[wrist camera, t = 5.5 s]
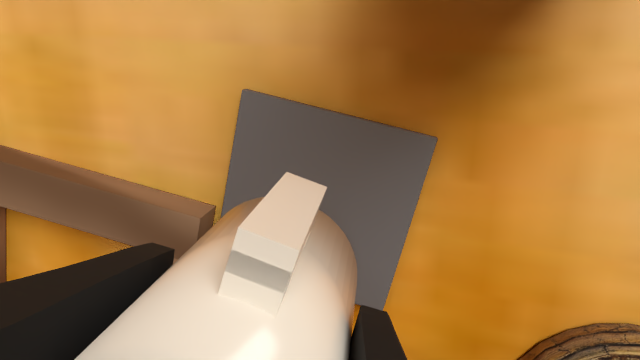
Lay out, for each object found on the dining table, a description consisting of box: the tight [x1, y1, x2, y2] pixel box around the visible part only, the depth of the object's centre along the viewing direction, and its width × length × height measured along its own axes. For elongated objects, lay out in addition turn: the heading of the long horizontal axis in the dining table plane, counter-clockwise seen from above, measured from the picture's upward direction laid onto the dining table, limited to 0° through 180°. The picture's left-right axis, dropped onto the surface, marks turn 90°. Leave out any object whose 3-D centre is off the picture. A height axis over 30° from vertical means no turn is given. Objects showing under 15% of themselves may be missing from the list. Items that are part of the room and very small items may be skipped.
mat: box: [221, 89, 438, 311], centre depth 18 cm, size 8×8×1 cm
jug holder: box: [0, 145, 216, 283], centre depth 20 cm, size 13×13×2 cm
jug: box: [74, 172, 357, 360], centre depth 9 cm, size 6×5×6 cm
